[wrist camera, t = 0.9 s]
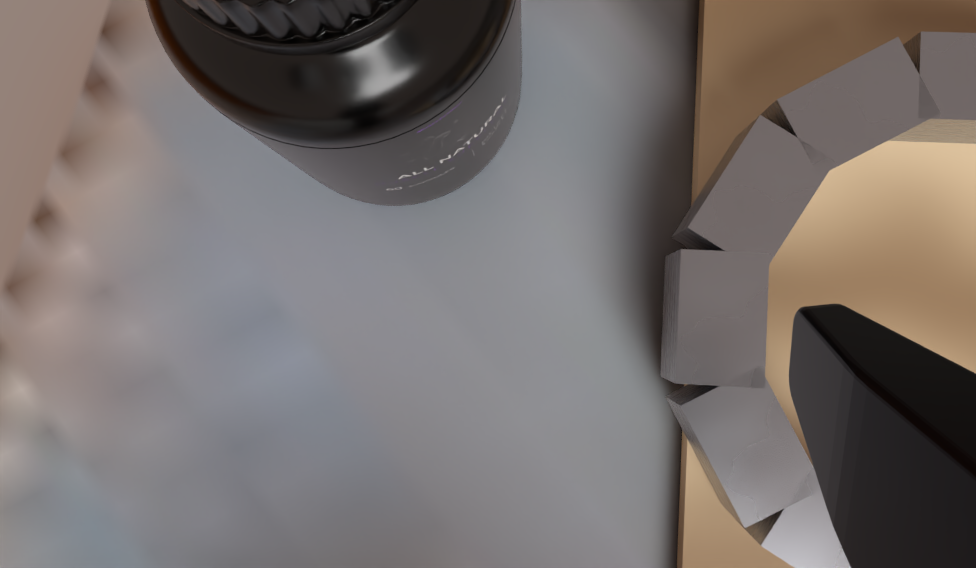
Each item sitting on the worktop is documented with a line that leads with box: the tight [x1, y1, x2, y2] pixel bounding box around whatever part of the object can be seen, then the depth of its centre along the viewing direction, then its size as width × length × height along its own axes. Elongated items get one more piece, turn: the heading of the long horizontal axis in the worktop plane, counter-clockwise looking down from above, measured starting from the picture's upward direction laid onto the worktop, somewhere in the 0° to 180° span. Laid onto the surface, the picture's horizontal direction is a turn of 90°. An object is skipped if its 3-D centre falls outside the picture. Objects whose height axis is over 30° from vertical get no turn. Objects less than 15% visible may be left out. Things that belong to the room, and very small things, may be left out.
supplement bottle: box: [145, 0, 522, 206], centre depth 17 cm, size 7×7×12 cm
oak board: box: [677, 0, 976, 568], centre depth 22 cm, size 18×14×1 cm
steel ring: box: [660, 31, 976, 568], centre depth 20 cm, size 14×14×2 cm
